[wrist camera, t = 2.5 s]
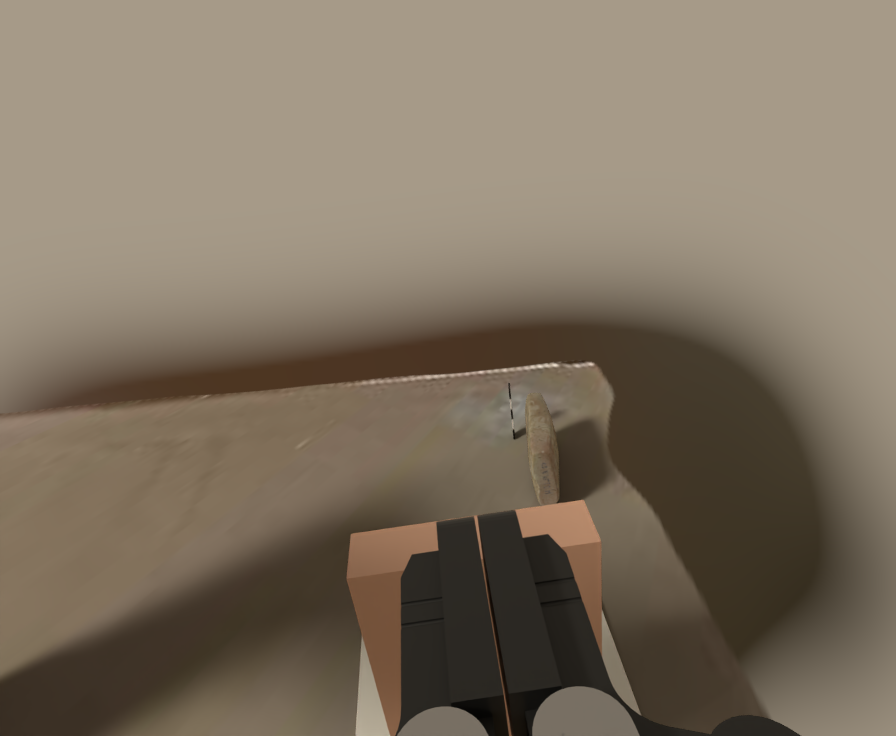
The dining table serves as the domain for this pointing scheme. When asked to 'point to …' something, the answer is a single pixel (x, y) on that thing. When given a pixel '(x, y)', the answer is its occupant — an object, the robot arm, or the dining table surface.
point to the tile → (389, 550)
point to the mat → (371, 716)
